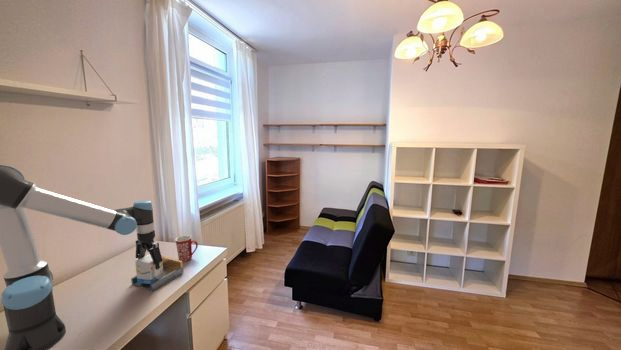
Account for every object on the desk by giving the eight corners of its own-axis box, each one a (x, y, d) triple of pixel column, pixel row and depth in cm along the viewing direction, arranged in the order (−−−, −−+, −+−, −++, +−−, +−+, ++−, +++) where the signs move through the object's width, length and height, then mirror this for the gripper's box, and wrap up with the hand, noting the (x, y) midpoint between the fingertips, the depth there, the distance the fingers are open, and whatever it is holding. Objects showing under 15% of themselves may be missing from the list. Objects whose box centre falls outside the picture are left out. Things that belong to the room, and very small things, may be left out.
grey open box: (152, 291, 123) (151, 278, 121) (131, 284, 128) (130, 272, 127) (183, 272, 139) (182, 261, 138) (163, 267, 145) (162, 256, 143)
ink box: (151, 284, 125) (148, 262, 123) (136, 282, 126) (134, 261, 124) (164, 275, 133) (162, 254, 131) (150, 273, 135) (148, 253, 133)
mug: (173, 262, 151) (171, 241, 148) (181, 255, 159) (180, 235, 157) (194, 262, 150) (193, 241, 148) (201, 255, 159) (200, 235, 157)
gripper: (168, 231, 125) (172, 273, 128) (138, 225, 133) (143, 265, 136) (154, 237, 118) (158, 281, 122) (123, 230, 126) (128, 272, 130)
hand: (150, 272), depth 129 cm, fingers closed on ink box, 9 cm apart
